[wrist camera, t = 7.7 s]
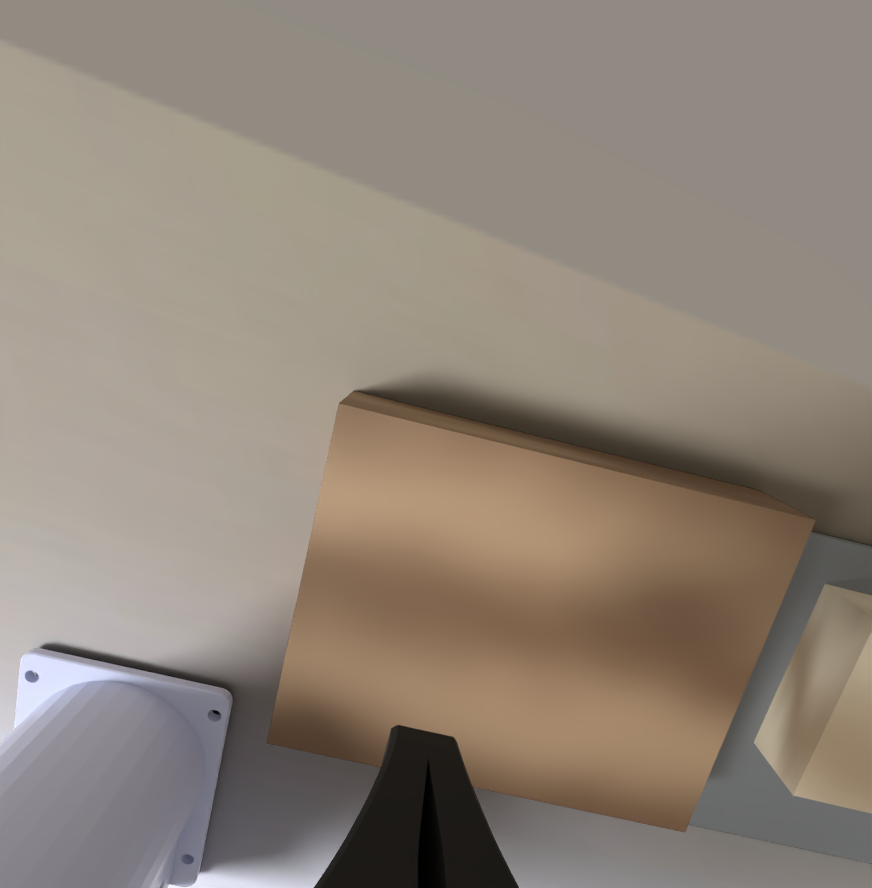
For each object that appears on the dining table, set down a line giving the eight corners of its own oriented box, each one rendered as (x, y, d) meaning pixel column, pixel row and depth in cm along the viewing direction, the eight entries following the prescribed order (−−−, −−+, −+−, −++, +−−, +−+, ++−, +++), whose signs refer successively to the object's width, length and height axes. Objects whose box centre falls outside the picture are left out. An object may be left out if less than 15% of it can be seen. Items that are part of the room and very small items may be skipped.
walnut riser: (653, 766, 23) (685, 832, 20) (289, 686, 22) (266, 742, 19) (760, 491, 20) (815, 520, 17) (353, 390, 19) (338, 403, 16)
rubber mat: (922, 867, 24) (930, 876, 23) (644, 807, 23) (647, 815, 23) (1070, 594, 21) (1082, 599, 21) (758, 518, 20) (765, 522, 20)
